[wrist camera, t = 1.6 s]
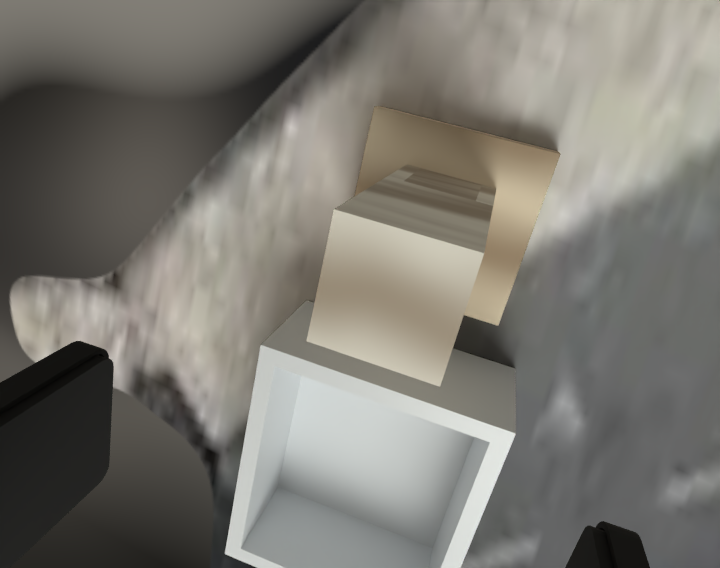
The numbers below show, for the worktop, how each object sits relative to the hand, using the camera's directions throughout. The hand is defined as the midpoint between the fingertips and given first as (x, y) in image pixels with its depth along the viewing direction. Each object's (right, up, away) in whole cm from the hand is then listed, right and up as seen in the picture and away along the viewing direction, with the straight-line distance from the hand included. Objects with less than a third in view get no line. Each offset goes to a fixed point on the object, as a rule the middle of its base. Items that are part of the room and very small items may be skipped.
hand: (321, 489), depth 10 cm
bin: (+2, -7, +27) cm, 28 cm away
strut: (+5, +7, +20) cm, 22 cm away
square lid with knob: (+5, +8, +21) cm, 23 cm away
